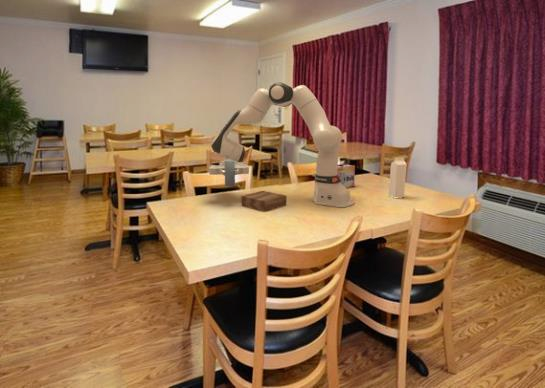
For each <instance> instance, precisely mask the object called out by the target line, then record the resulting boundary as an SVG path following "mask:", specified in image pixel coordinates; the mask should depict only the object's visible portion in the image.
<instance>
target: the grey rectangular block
mask: <svg viewBox="0 0 545 388" xmlns="http://www.w3.org/2000/svg"><path fill="white" fill-rule="evenodd" d="M224 163H225V176H224V186H225V187H234V186H236V175H235V161H224Z"/></svg>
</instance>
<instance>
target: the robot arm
mask: <svg viewBox="0 0 545 388" xmlns="http://www.w3.org/2000/svg"><path fill="white" fill-rule="evenodd" d="M291 105H294V107H295V108H296V110H297V111H298V113H299V114H300V116H301V117H302V119H303V121H304V123H305V125H307V128H308V131H309V132H310V135H311V137H312V140H313V143H314V146H315V147H317V148H318V152H317V156H316V164H315V165H316V167H315V174H314V183H315V184H314V191H313V195H312V198H311V201H312V202H313V203H314V204H315V205H321V206H322V205H323V206H329V207H335V208H347V207H351V206H353V205H354V203H355V200H352V198H351V193H350V190H349V189H348V188H345V187H344V186H343V185H342V184H341V183H340V179H341V178H342V177H339V176H338V175H337V169H338V165H339V156H340V151H341V144H342V138H343V137H342V136H343V135H342V131H341V130H340V129H339V127H337V126H334V125H331V124H330V122H329V119H328V117H327V114H326V112H325V110H324V108H323V107H322V106H321V104H320V102H319V101H318V99H317V98H316V96H315V95H314V93H313V92H312V91H311V90H310V89H309V88H308V87H307V86H306V85H305V84H302V85H301V84H299V85H298V86H296V87H294V88H293V87H292V86H289V85H288V84H285V83H284V82H275V83H273V84H272V85H270V86H269V88H268V89H267V88H263V87H262V88H261V87H260V88H258V89H257V90H256V91H255V93H253V95H252V96H251V98H250V99H249V101H248V103H247V105H246V106H245V107H244V108H243V109H239V110H237V111H236V112H235V113H234V114H233V115H232V117H230V119H229V120H228V121H227V122H226V124H225V125H224V127H223V128H222V129H221V130H220V131H219V133H218V134H217V135H216V136H215V137H214V138H213V140H212V142H211V145H210V146H211V149H212V151H213V153H216V154H219V155H221V156H223V157H222V158H221V159H220V160H219V163H218V165H211V166H209V167H208V172H209V175H211V176H212V175H213V176H215V175H216V176H217V175H223V177H225V163H224V161H235V176H237V175H247V174H249V172H250V166H249V165H248V164H247V163H245V161H243V160H244V158H245V155H246V150H245V146H244V145H242V144H240V143H239V142H238V141H237V142H236V141H235V140H232V139H231V138H228V135H229V134H230V132H232V130H233V129H234V128H235V127H236V125H239V124H246V125H258V124H260V123H262V122H263V120H265V117H266V116H267V114H268V112H269V111H270V108H271V107H272V106H276V107H277V106H278V107H282V108H284V107H285V108H287V107H289V106H291Z"/></svg>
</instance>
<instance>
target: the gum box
mask: <svg viewBox="0 0 545 388" xmlns="http://www.w3.org/2000/svg"><path fill="white" fill-rule="evenodd" d="M355 173H356V165H355V164H354V165H350V164H349V163H344V164H343V163H341V164H338V169H337V175H338V176H339V177H342V178H341V179H340V183H341V184H342V185H343V186H344V187H350V186H354V187H355V178H356V177H355V176H356V175H355ZM350 188H351V187H350Z"/></svg>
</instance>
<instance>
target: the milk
mask: <svg viewBox="0 0 545 388" xmlns="http://www.w3.org/2000/svg"><path fill="white" fill-rule="evenodd" d="M407 166H408V164H407V163H406V161H405V158H404V157H394V159H393V161H392V162H391V163H390V173H389V184H388V196H389V195H390V196H393V197H405V189H406V188H405V187H406V177H407Z"/></svg>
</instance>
